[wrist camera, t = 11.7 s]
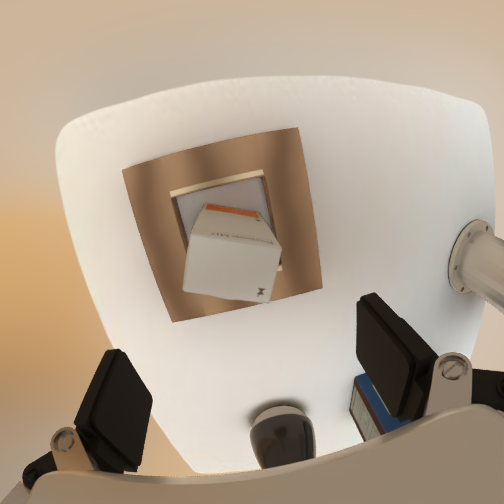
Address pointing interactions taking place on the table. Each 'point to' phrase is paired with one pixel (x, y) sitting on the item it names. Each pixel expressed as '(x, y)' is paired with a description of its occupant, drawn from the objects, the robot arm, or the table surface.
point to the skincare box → (231, 255)
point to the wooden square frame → (216, 174)
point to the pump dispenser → (282, 437)
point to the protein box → (371, 410)
